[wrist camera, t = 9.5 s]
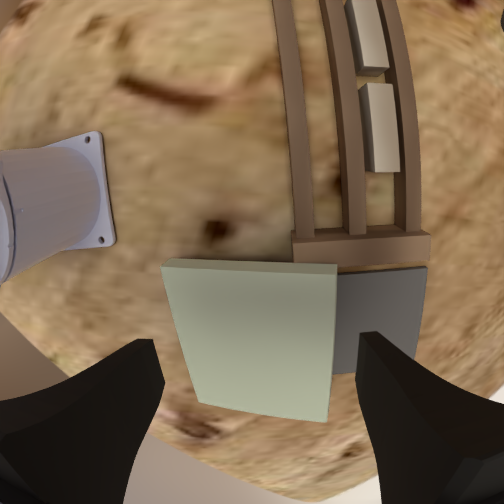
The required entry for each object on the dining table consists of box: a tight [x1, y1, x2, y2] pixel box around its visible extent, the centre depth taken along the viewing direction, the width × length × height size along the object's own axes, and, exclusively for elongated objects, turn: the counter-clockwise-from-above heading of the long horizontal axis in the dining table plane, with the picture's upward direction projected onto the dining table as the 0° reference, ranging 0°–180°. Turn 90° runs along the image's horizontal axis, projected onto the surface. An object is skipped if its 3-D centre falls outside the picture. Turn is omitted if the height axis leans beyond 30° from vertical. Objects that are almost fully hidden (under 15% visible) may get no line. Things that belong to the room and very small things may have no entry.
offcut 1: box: [344, 0, 389, 77], centre depth 15 cm, size 2×5×2 cm, turn 5°
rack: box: [272, 0, 431, 268], centre depth 15 cm, size 8×21×3 cm, turn 5°
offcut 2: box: [358, 83, 400, 172], centre depth 16 cm, size 2×5×2 cm, turn 5°
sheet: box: [160, 258, 337, 422], centre depth 20 cm, size 1×12×10 cm
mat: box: [332, 266, 428, 374], centre depth 21 cm, size 12×8×1 cm, turn 95°
